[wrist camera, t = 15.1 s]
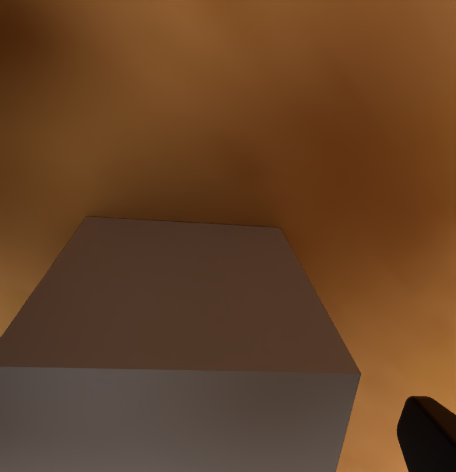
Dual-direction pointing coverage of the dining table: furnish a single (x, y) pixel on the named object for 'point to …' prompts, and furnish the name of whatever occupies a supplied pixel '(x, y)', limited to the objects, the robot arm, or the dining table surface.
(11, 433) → the grey matte cube
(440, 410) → the robot arm
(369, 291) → the dining table surface
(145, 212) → the dining table surface
